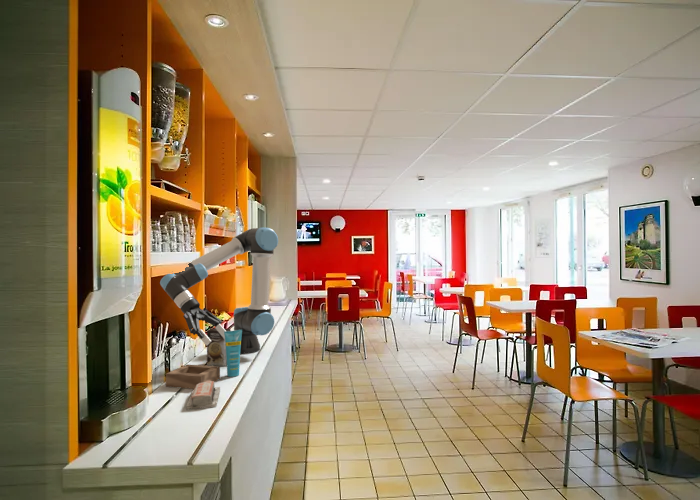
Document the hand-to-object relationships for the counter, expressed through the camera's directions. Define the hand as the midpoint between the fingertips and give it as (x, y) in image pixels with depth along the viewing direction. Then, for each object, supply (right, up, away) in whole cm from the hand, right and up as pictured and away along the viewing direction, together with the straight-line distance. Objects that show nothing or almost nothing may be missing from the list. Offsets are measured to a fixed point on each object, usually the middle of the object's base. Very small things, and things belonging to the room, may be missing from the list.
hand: (218, 339), depth 177 cm
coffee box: (-5, -15, +18) cm, 24 cm away
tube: (+7, -15, 0) cm, 17 cm away
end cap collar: (-7, -15, -9) cm, 19 cm away
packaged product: (+4, -16, -28) cm, 32 cm away
